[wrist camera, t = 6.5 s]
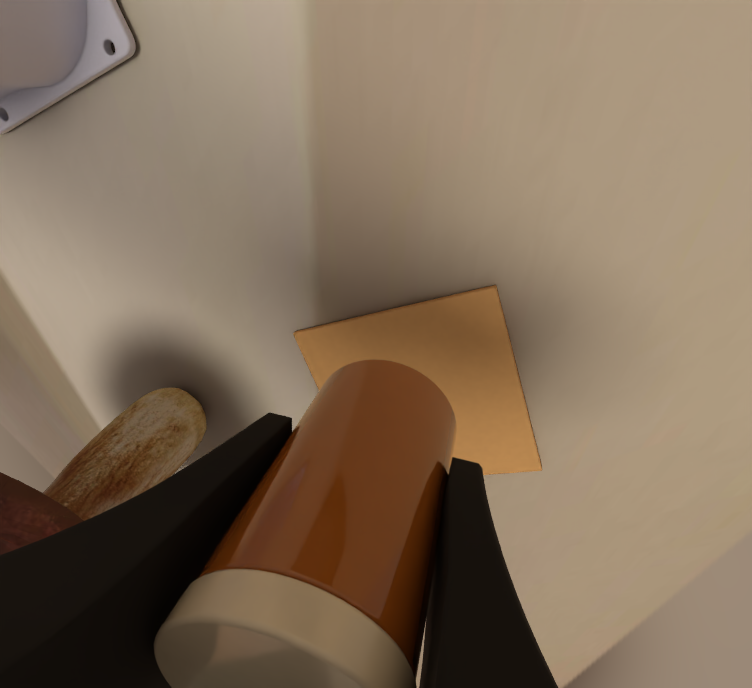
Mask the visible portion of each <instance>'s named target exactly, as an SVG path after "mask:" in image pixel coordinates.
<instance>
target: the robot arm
mask: <svg viewBox="0 0 752 688" xmlns="http://www.w3.org/2000/svg"><path fill="white" fill-rule="evenodd" d="M111 43H113V44H114V46H115V53H113V52H112V49H111ZM135 49H136V46H135V40H134V37H133V35H132V33H131V31H130V29H129V27H128V25H127V23H126V21H125V18H124V16H123V14H122V12H121V10H120V8H119V6H118V4H117V2H116V0H0V134H5V133H7V132H8V131H10V130H12V129H13V128H15V127H17V126H18V125H20V124H21V123H23V122H25V121H26V120H28V119H30V118H31V117H33V116H35V115H36V114H38V113H40V112H41V111H43V110H45V109H46V108H48V107H49V106H51V105H53V104H54V103H56V102H58V101H59V100H61V99H63V98H64V97H66V96H68V95H69V94H71V93H73V92H74V91H76V90H78V89H79V88H81V87H82V86H84V85H86V84H87V83H89V82H91V81H92V80H94V79H96V78H97V77H99V76H101V75H102V74H104V73H106V72H107V71H109V70H110V69H112V68H114V67H115V66H117V65H119V64H120V63H122V62H124V61H125V60H127V59H129V58H130V57H132V56H133V55H134V53H135ZM7 113H8V115H7ZM8 116H9V117H8ZM291 433H292V418H290V417H286V416H282V415H278V414H274V413H268V414H266V415H265V416H263V417H262V418H260V419H259V420H257V421H256V422H254V423H253V424H251V425H250V426H248V427H247V428H245V429H244V430H242V431H241V432H239V433H238V434H236V435H235V436H233V437H232V438H230V439H229V440H227V441H226V442H225V443H223V444H222V445H220V446H219V447H217V448H215V449H214V450H212V451H211V452H209V453H208V454H206V455H205V456H203V457H202V458H200V459H198V460H197V461H195V462H194V463H192V464H191V465H189V466H187V467H186V468H184V469H182V470H181V471H179V472H177V473H176V474H174V475H172V476H171V477H169V478H167V479H165V480H164V481H162V482H160V483H159V484H157V485H155V486H154V487H152V488H150V489H148V490H146V491H144V492H143V493H141V494H139V495H137V496H135V497H133V498H131V499H129V500H127V501H125V502H123V503H121V504H119V505H117V506H115V507H113V508H111V509H109V510H107V511H105V512H103V513H101V514H99V515H97V516H94V517H92V518H90V519H87V520H85V521H83V522H81V523H78V524H76V525H74V526H71V527H69V528H67V529H64V530H62V531H60V532H58V533H55V534H53V535H51V536H48V537H46V538H43V539H41V540H39V541H36V542H33V543H31V544H28V545H26V546H23V547H20V548H18V549H15V550H13V551H10V552H7V553H4V554H2V555H0V688H172V687H171V686H170V685H169V683H168V682H167V681H166V680H165V678H164V677H163V675H162V673H161V672H160V670H159V668H158V665H157V663H156V661H155V657H154V652H153V644H154V640H155V637H156V633H157V631H158V629H159V628H160V626H161V625H162V623H163V622H164V620H165V619H166V617H167V616H168V614H169V613H170V611H171V610H172V608H173V607H174V605H175V604H176V602H177V601H178V599H179V598H180V596H181V595H182V593H183V592H184V590H185V589H186V587H187V586H188V585H190V584H191V583H192V582H193V581H194V580H195V579H196V578H197V576H198V575H199V573H200V571H201V570H202V568H203V567H204V565H205V564H206V562H207V561H208V559H209V558H210V556H211V555H212V553H213V552H214V550H215V549H216V547H217V546H218V544H219V543H220V541H221V540H222V538H223V536H224V535H225V533H226V532H227V530H228V529H229V527H230V526H231V524H232V523H233V521H234V520H235V518H236V517H237V515H238V514H239V512H240V511H241V509H242V508H243V506H244V505H245V503H246V502H247V500H248V498H249V497H250V495H251V494H252V492H253V491H254V489H255V488H256V486H257V485H258V483H259V482H260V480H261V479H262V477H263V476H264V474H265V473H266V471H267V470H268V468H269V467H270V465H271V464H272V462H273V460H274V459H275V457H276V456H277V454H278V453H279V451H280V450H281V448H282V447H283V445H284V444H285V442H286V441H287V439H288V438H289V436H290V435H291ZM419 688H558V686H557V684H556V682H555V680H554V678H553V676H552V674H551V672H550V670H549V667H548V665H547V663H546V661H545V659H544V657H543V655H542V653H541V650H540V648H539V646H538V644H537V642H536V639H535V637H534V635H533V632H532V630H531V628H530V626H529V623H528V621H527V618H526V616H525V614H524V611H523V609H522V606H521V604H520V601H519V599H518V596H517V593H516V591H515V588H514V585H513V583H512V580H511V577H510V574H509V572H508V569H507V566H506V563H505V560H504V557H503V554H502V551H501V547H500V544H499V541H498V537H497V534H496V531H495V528H494V524H493V520H492V516H491V512H490V508H489V504H488V500H487V495H486V490H485V484H484V478H483V468H482V467H481V466H480V464H479V463H476V462H471V461H467V460H463V459H459V458H455V457H452V461H451V465H450V470H449V474H448V480H447V486H446V492H445V498H444V504H443V510H442V520H441V529H440V536H439V543H438V549H437V555H436V561H435V567H434V573H433V579H432V585H431V591H430V597H429V603H428V610H427V616H426V628H425V640H424V652H423V663H422V671H421V679H420V687H419Z"/></svg>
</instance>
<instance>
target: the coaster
mask: <svg viewBox="0 0 752 688" xmlns="http://www.w3.org/2000/svg"><path fill="white" fill-rule="evenodd" d="M293 335H294V337H295V339H296V341H297V343H298V346H299V348H300V350H301V352H302V354H303V357H304V359H305V361H306V363H307V365H308V367H309V370H310V372H311V374H312V376H313V378H314V380H315V383H316V385H317V387H318V389H319V391H320V389H321V388H322V386H323V384H324V383H325V382H326V380H327V379H328V378H329V377H330V376H331V375H332V374H333V373H334V372H335V371H337V370H338V369H340V368H342V367H343V366H345V365H348V364H351V363H353V362H357V361H362V360H371V359H376V360H387V361H393V362H397V363H401V364H403V365H406V366H409V367H411V368H413V369H415V370H417V371H419V372H420V373H422V374H423V375H425V376H426V377H428V378H429V379H430V380H431V381H433V382H434V383H435V384H436V385H437V386H438V387H439V388H440V389H441V391H442V392H443V393H444V395H445V396H446V397H447V399H448V401H449V403H450V405H451V406H452V409H453V412H454V414H455V419H456V427H457V432H456V439H455V445H454V452H453V457H455V458H459V459H463V460H467V461H471V462H476V463H479V464H480V466H481V467H482V468H483V475H488V474H501V473H515V472H528V471H541V470H542V465H541V461H540V457H539V453H538V449H537V446H536V442H535V438H534V434H533V430H532V426H531V422H530V418H529V414H528V410H527V406H526V402H525V398H524V394H523V390H522V386H521V382H520V378H519V374H518V370H517V366H516V362H515V358H514V354H513V350H512V346H511V342H510V338H509V334H508V330H507V326H506V322H505V318H504V314H503V310H502V306H501V302H500V298H499V294H498V290H497V286H496V285H493V286H489V287H485V288H480V289H476V290H472V291H467V292H463V293H459V294H454V295H450V296H446V297H441V298H437V299H433V300H428V301H424V302H420V303H416V304H411V305H407V306H403V307H398V308H394V309H390V310H385V311H381V312H377V313H372V314H368V315H364V316H359V317H355V318H351V319H346V320H342V321H338V322H334V323H329V324H325V325H321V326H316V327H312V328H308V329H303V330H299V331H295V332H294V333H293Z"/></svg>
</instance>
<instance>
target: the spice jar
mask: <svg viewBox="0 0 752 688" xmlns="http://www.w3.org/2000/svg"><path fill="white" fill-rule="evenodd" d="M456 432H457V427H456V419H455V414H454V412H453V409H452V406H451V405H450V403H449V401H448V399H447V397H446V396H445V395H444V393H443V392H442V391H441V389H440V388H439V387H438V386H437V385H436V384H435V383H434V382H433V381H431V380H430V379H429V378H428V377H426V376H425V375H423V374H422V373H420V372H419V371H417V370H415V369H413V368H411V367H409V366H406V365H403V364H401V363H397V362H393V361H387V360H376V359H371V360H362V361H357V362H353V363H351V364H348V365H345V366H343V367H342V368H340V369H338V370H337V371H335V372H334V373H333V374H332V375H331V376H330V377H329V378H328V379H327V380H326V382H325V383H324V384H323V386H322V388H321V389H320V391H319V392H318V394H317V395H316V397H315V398H314V400H313V401H312V403H311V404H310V406H309V407H308V409H307V410H306V412H305V413H304V415H303V416H302V418H301V419H300V421H299V422H298V424H297V426H296V427H295V429H294V430H293V432H292V433H291V435H290V436H289V438H288V439H287V441H286V442H285V444H284V445H283V447H282V448H281V450H280V451H279V453H278V454H277V456H276V457H275V459H274V460H273V462H272V464H271V465H270V467H269V468H268V470H267V471H266V473H265V474H264V476H263V477H262V479H261V480H260V482H259V483H258V485H257V486H256V488H255V489H254V491H253V492H252V494H251V495H250V497H249V498H248V500H247V502H246V503H245V505H244V506H243V508H242V509H241V511H240V512H239V514H238V515H237V517H236V518H235V520H234V521H233V523H232V524H231V526H230V527H229V529H228V530H227V532H226V533H225V535H224V536H223V538H222V540H221V541H220V543H219V544H218V546H217V547H216V549H215V550H214V552H213V553H212V555H211V556H210V558H209V559H208V561H207V562H206V564H205V565H204V567H203V568H202V570H201V571H200V573H199V575H198V576H197V578H196V579H195V580H194V581H193V582H192V583H191V584H190V585H188V586H187V587H186V589H185V590H184V592H183V593H182V595H181V596H180V598H179V599H178V601H177V602H176V604H175V605H174V607H173V608H172V610H171V611H170V613H169V614H168V616H167V617H166V619H165V620H164V622H163V623H162V625H161V626H160V628H159V629H158V631H157V633H156V637H155V640H154V644H153V652H154V657H155V661H156V663H157V665H158V668H159V670H160V672H161V673H162V675H163V677H164V678H165V680H166V681H167V682H168V683H169V685H170V686H171V687H172V688H416V676H417V670H418V664H419V658H420V652H421V646H422V640H423V634H424V628H425V622H426V616H427V610H428V603H429V597H430V591H431V585H432V579H433V573H434V567H435V561H436V555H437V549H438V543H439V536H440V529H441V520H442V510H443V504H444V498H445V492H446V486H447V480H448V474H449V470H450V465H451V461H452V457H453V452H454V445H455V439H456Z"/></svg>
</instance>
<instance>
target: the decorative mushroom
mask: <svg viewBox="0 0 752 688" xmlns="http://www.w3.org/2000/svg"><path fill="white" fill-rule="evenodd" d="M206 428H207V426H206V416H205V413H204V410H203V409H202V407H201V404H200V403H199V402H198V401H197V400H196V399H195V398H194V397H192V396H191V395H190V394H189V393H187V392H186V391H183V390H181V389H178V388H162V389H158V390H155V391H152V392H150V393H148V394H146V395H144V396H143V397H141V398H140V399H139V400H137V401H136V402H134V403H133V404H132V405H131V406H129V407H128V408H127V409H126V410H125V411H123V412H122V413H121V414H120V415H119V416H118V417H116V418H115V419H114V420H113V421H112V422H111V423H110V424H109V425H107V426H106V427H105V428H104V429H103V430H102V431H101V432H100V433H99V434H98V435H97V436H95V437H94V438H93V439H92V440H91V441H90V442H89V443H88V444H87V445H86V446H85V447H84V448H83V449H82V450H81V451H80V452H79V453H78V454H77V455H76V456H75V457H74V458H73V459H72V460H71V462H70V463H69V464H68V465H67V466H66V467H65V468H64V469H63V470H62V472H61V473H60V474H59V475H58V477H57V478H56V479H55V480H54V482H52V484H51V485H50V486H49V487H48V488H47V489H46V490H45V491H44V492H43V493H41V492H39V491H38V490H36V489H34V488H32V487H30V486H28V485H26V484H24V483H22V482H20V481H19V480H16V479H14V478H11V477H9V476H7V475H5V474H3V473H1V472H0V555H2V554H4V553H7V552H10V551H13V550H15V549H18V548H20V547H23V546H26V545H28V544H31V543H33V542H36V541H39V540H41V539H43V538H46V537H48V536H51V535H53V534H55V533H58V532H60V531H62V530H64V529H67V528H69V527H71V526H74V525H76V524H78V523H81V522H83V521H85V520H87V519H90V518H92V517H94V516H97V515H99V514H101V513H103V512H105V511H107V510H109V509H111V508H113V507H115V506H117V505H119V504H121V503H123V502H125V501H127V500H129V499H131V498H133V497H135V496H137V495H139V494H141V493H143V492H144V491H146V490H148V489H150V488H152V487H154V486H155V485H157V484H159V483H160V482H162V481H164V480H165V479H167V478H169V477H170V476H172V475H173V474H174V473H175V472H176V471H177V469H178V468H179V467H180V466H181V465H182V464H183V463H184V462H185V461H186V460H187V459H188V458H189V456H190V455H191V454H192V453H193V452H194V450H195V449H196V448H197V446H198V444H199V443H200V442H201V440H202V438H203V436H204V433H205V431H206Z"/></svg>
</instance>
